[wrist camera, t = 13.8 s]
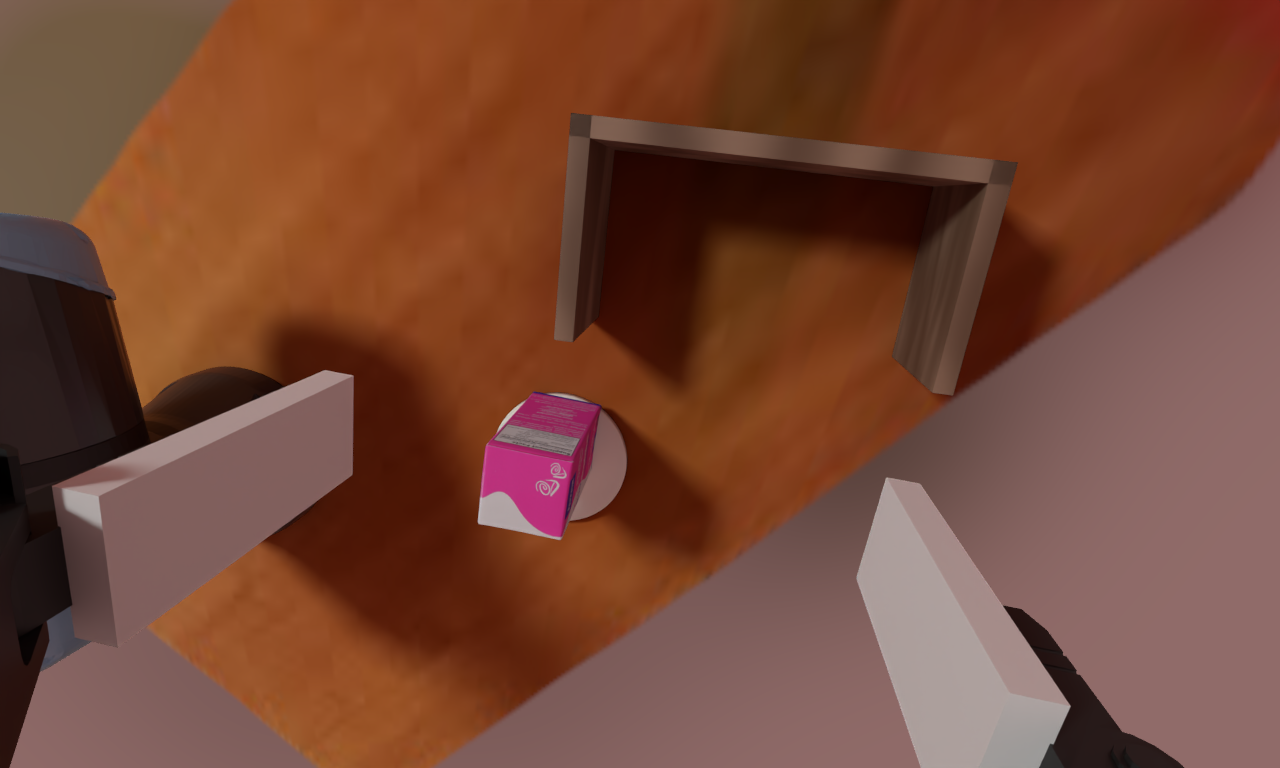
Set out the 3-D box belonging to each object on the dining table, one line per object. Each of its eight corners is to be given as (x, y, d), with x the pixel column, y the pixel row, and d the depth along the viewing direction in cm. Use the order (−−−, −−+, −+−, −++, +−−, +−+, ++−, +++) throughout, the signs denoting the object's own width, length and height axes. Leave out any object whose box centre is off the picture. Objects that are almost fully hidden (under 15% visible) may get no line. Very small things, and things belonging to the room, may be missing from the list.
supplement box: (594, 470, 50) (560, 545, 39) (523, 455, 51) (471, 525, 40) (605, 403, 49) (573, 462, 38) (532, 388, 49) (479, 442, 38)
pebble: (493, 505, 53) (490, 509, 53) (499, 383, 50) (496, 385, 49) (620, 525, 52) (618, 530, 52) (634, 402, 49) (633, 406, 48)
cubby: (583, 314, 48) (553, 339, 39) (599, 130, 44) (570, 113, 35) (908, 358, 46) (953, 395, 37) (956, 170, 42) (1017, 162, 33)
